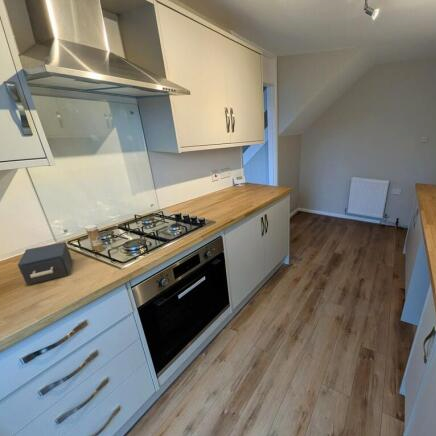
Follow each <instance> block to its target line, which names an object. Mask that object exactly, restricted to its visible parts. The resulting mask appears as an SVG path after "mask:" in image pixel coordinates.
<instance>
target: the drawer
mask: <svg viewBox="0 0 436 436" xmlns="http://www.w3.org/2000/svg"><path fill="white" fill-rule="evenodd" d="M20 269H21V271H22V273H23V275H24V277H25V280H26V282H27V284H31V285H33V284H32V283H35V284H37V283H36V282H39V283H41V282H40V281H43V282H45V281H44V280H47V281H49V280H48V279H51V280H53V279H52V278H55V279H57V278H56V277H59V278H61V277H60V276H63V277H65V276H64V275H67V272H66V270H65V267H64V264H63V262H62V259H61V258H60V257H59V258H54V259H50V260H45V261H41V262H36V263H32V264H27V265H24V266H21V267H20ZM20 269H19V270H20ZM21 271H20V272H21ZM22 273H21V274H22ZM23 275H22V276H23ZM67 276H68V275H67ZM25 280H24V281H25ZM26 282H25V283H26ZM27 284H26V285H27Z"/></svg>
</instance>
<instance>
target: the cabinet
mask: <svg viewBox="0 0 436 436" xmlns="http://www.w3.org/2000/svg"><path fill="white" fill-rule="evenodd" d="M59 257H60V258H61V259H62V262H63V264H64V267H65V270H66V272H67V275H64V276H60V277H56V278H52V279H48V280H44V281H40V282H36V283H32V284H27V282H26V280H25V277H24V275H23V273H22V271H21V269H20V267H21V266H24V265H27V264H32V263H36V262H41V261H45V260H50V259H54V258H59ZM72 265H73V258H72V255H71V252H70V249H69V247H68V244H67V242H66V241H64V242H58V243H53V244H47V245H42V246H37V247H32V248H27V249H25V251H24V253H23V254H22V256H21V258H20V260H19V261H18V262H17V267H18V269H19V271H20V273H21V275H22V277H23V280H24V282H25V284H26V286H30V285H31V286H32V285H35V284H39V283H43V282H47V281H51V280H55V279H59V278H63V277H66V276H70V275H71V270H72Z"/></svg>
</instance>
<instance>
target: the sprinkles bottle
mask: <svg viewBox="0 0 436 436" xmlns="http://www.w3.org/2000/svg"><path fill="white" fill-rule="evenodd" d="M84 229H85V232H86V233H87V238H88V241H89V244H90V247H91V249H92V252H93V253H99V252H102V251H104V246H103V243H102V239H101V236H100V233H99V227H98V225H97V224H89V225H86V226H84ZM93 250H95V251H93Z"/></svg>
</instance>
